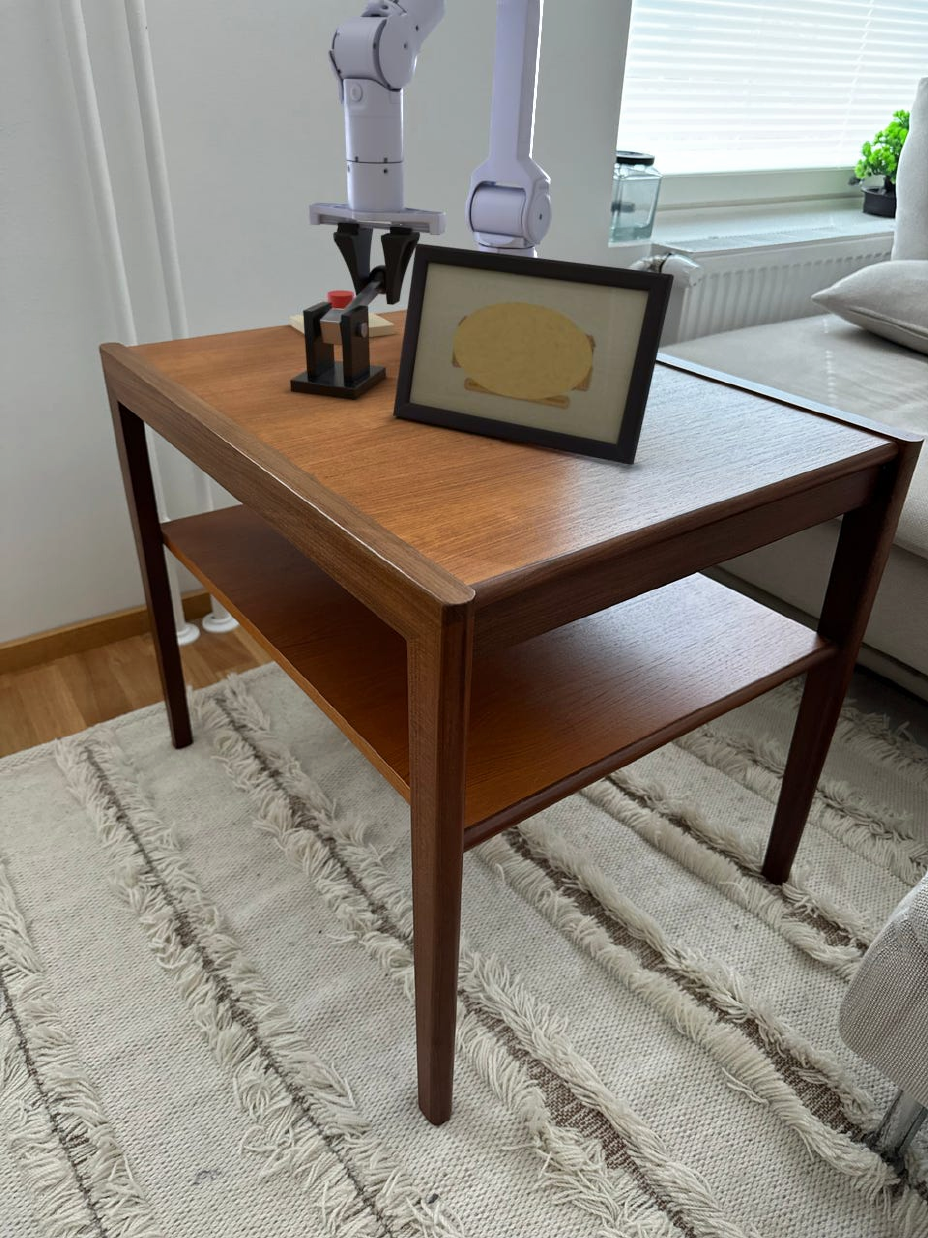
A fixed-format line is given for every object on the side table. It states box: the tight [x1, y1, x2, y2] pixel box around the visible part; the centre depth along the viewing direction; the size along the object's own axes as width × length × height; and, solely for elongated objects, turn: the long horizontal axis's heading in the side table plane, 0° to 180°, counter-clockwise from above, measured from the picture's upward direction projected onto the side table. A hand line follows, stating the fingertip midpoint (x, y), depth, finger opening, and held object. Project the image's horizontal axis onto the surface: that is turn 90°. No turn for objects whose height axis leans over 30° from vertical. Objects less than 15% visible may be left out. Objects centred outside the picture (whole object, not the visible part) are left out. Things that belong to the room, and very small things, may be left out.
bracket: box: [289, 300, 387, 401], centre depth 89 cm, size 8×7×8 cm
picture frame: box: [392, 242, 675, 466], centre depth 79 cm, size 23×9×15 cm, turn 62°
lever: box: [320, 264, 386, 346], centre depth 93 cm, size 15×3×3 cm, turn 162°
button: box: [326, 289, 355, 309], centre depth 108 cm, size 3×3×2 cm
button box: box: [289, 299, 396, 338], centre depth 109 cm, size 10×9×3 cm
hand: (378, 301), depth 97 cm, fingers closed on lever, 3 cm apart
